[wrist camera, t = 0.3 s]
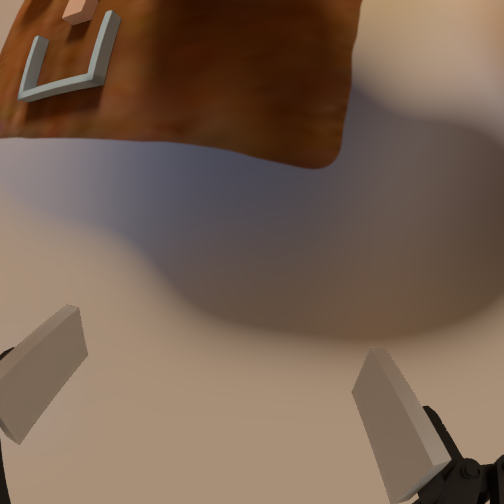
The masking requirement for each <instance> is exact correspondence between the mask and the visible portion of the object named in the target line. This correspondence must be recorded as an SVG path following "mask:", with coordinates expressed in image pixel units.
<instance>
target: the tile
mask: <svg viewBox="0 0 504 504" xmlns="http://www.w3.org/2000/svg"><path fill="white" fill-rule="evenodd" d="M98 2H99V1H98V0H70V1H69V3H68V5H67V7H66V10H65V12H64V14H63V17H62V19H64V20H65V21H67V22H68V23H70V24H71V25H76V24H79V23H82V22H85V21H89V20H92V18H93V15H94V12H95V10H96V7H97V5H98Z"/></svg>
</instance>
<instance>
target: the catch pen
mask: <svg viewBox="0 0 504 504" xmlns="http://www.w3.org/2000/svg"><path fill="white" fill-rule="evenodd" d="M120 21H121V18H120V17H119V16H118V15H117V14H116V13H115V12H114V11H113V10H111V11H107V12H106V14H105V16H104V19H103V22H102V25H101V28H100V31H99V34H98V37H97V40H96V44H95V47H94V50H93V54H92V58H91V62H90V65H89V69H88V74H84V75H79V76H75V77H71V78H67V79H63V80H59V81H56V82H52V83H49V84H45V85H42V86H39V87H36V86H37V81H38V77H39V73H40V70H41V66H42V62H43V59H44V56H45V52H46V49H47V46H48V43H49V40H48V39H46V38H44V37H42V36H40V35H39V36H36V37H35V39H34V41H33V44H32V47H31V50H30V53H29V56H28V60H27V63H26V66H25V70H24V74H23V77H22V81H21V85H20V90H19V94H18V99H17V100H21V101H26V102H32V101H35V100H38V99H42V98H46V97H49V96H53V95H57V94H61V93H66V92H70V91H75V90H80V89H85V88H91V87H96V86H102V85H104V81H105V76H106V72H107V68H108V63H109V59H110V55H111V52H112V48H113V44H114V41H115V37H116V34H117V31H118V28H119V24H120Z"/></svg>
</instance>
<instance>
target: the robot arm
mask: <svg viewBox="0 0 504 504" xmlns="http://www.w3.org/2000/svg"><path fill="white" fill-rule="evenodd" d="M87 356H88V352H87V348H86V343H85V339H84V333H83V328H82V322H81V316H80V311H79V307H75V306H72V305H68V304H67V305H65V306H64V307H63V308H62V309H60V310H59V311H58V312H57V313H55V314H54V315H53V316H52V317H51V318H49V319H48V320H47V321H46V322H44V323H43V324H42V325H41V326H39V327H38V328H37V329H36V330H35V331H33V332H32V333H31V334H30V335H29V336H28V337H26V338H25V339H24V340H23V341H22V342H21V343H20V344H18V345H17V346H16V347H13V348H11V349H8V350H6V351H4V352H3V353H2V354H1V355H0V427H1V429H2V430H3V432H4V433H5V435H6V436H7V437H9V438H10V439H11V440H13V441H14V442H15V443H17V444H18V445H20V444H21V442H22V441H23V439H24V438H25V437H26V435H27V434H28V432H29V431H30V429H31V428H32V427H33V425H34V424H35V423H36V421H37V420H38V418H39V417H40V416H41V414H42V413H43V412H44V410H45V409H46V408H47V406H48V405H49V404H50V402H51V401H52V400H53V398H54V397H55V396H56V395H57V393H58V392H59V391H60V389H61V388H62V387H63V386H64V384H65V383H66V382H67V381H68V379H69V378H70V377H71V376H72V374H73V373H74V372H75V371H76V369H77V368H78V367H79V366H80V364H81V363H82V362H83V361H84V359H85V358H86V357H87ZM352 394H353V397H354V399H355V402H356V405H357V408H358V410H359V413H360V415H361V418H362V421H363V424H364V427H365V429H366V432H367V435H368V438H369V441H370V444H371V446H372V449H373V452H374V455H375V458H376V461H377V464H378V467H379V470H380V473H381V476H382V479H383V482H384V485H385V488H386V491H387V495H388V498H389V501H390V504H397V503H401V502H404V501H407V500H409V499H410V498H411V497H413V496H414V495H415V494H416V493H418V496H419V499H417V500H416V501H415V502H414V503H412V504H485V503H486V502H487V501H489V500H490V504H504V455H502V456H501V457H500V458H499V459H498V460H497V461H496V462H495V463H494V464H487V465H480V464H479V463H478V462H477V461H475V460H473V459H469V458H465V459H464V458H463V457H462V455H461V454H460V452H459V450H458V448H457V447H456V445H455V443H454V441H453V440H452V438H451V436H450V434H449V433H448V431H446V428H445V426H444V424H442V421H441V419H440V418H439V416H438V414H437V413H436V412H435V411H434V410H432V409H431V408H430V407H429V406H423V407H422V406H421V404H420V403H419V401H418V399H417V397H416V396H415V394H414V392H413V391H412V389H411V387H410V386H409V384H408V383H407V381H406V380H405V378H404V376H403V375H402V373H401V371H400V370H399V368H398V367H397V365H396V364H395V362H394V360H393V359H392V357H391V356H390V354H389V353H388V351H387V350H386V348H385V347H370V348H369V351H368V354H367V356H366V359H365V361H364V364H363V366H362V369H361V371H360V374H359V376H358V379H357V381H356V383H355V385H354V388H353V390H352ZM0 504H11V502H10V498H9V494H8V489H7V484H6V479H5V473H4V467H3V460H2V452H1V441H0Z"/></svg>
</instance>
